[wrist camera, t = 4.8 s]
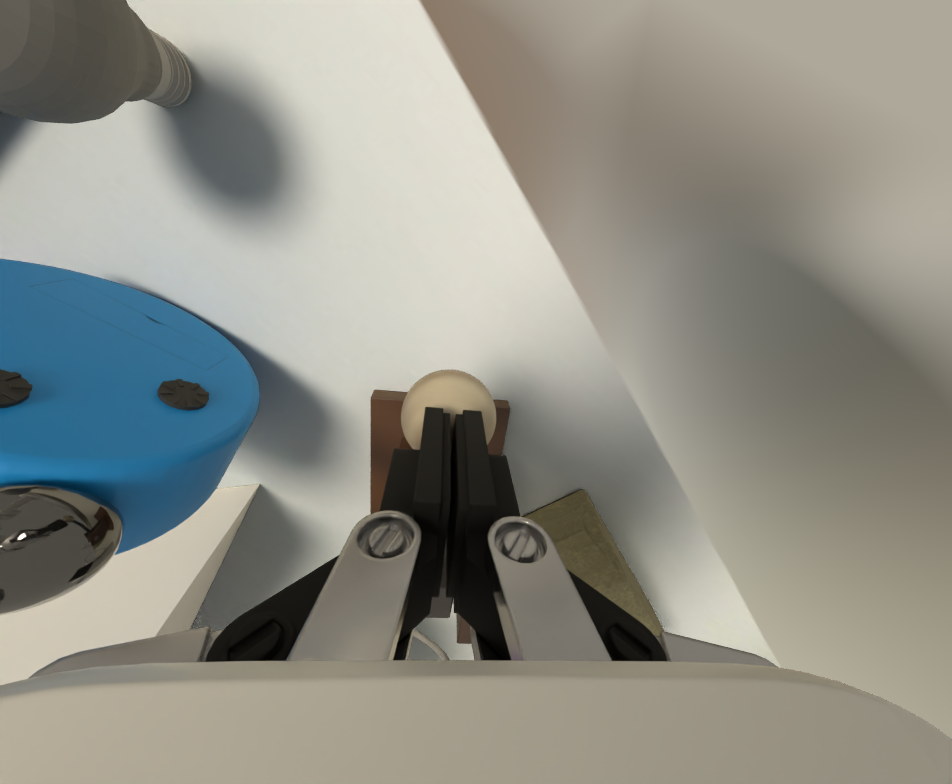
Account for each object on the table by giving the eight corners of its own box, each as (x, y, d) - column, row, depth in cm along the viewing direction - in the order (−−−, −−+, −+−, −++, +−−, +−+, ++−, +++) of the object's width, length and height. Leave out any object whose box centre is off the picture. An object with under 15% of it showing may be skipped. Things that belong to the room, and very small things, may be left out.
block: (-148, 606, 30) (-504, 842, 19) (155, 394, 23) (-107, 560, 12) (63, 696, 37) (-102, 905, 26) (339, 552, 31) (277, 746, 20)
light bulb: (112, 141, 18) (-235, 70, 9) (69, -32, 15) (-486, -388, 6) (245, 162, 18) (51, 115, 9) (226, -1, 16) (-67, -279, 7)
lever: (407, 348, 13) (395, 402, 10) (498, 357, 13) (509, 411, 10) (400, 562, 20) (392, 626, 17) (459, 564, 20) (460, 627, 18)
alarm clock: (39, 329, 21) (-668, 533, 8) (63, 234, 19) (-834, 290, 6) (263, 435, 25) (51, 691, 12) (302, 366, 23) (99, 580, 10)
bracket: (373, 389, 24) (315, 527, 14) (508, 400, 25) (550, 536, 15) (373, 504, 29) (328, 677, 18) (487, 510, 30) (509, 676, 19)
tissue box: (652, 608, 37) (780, 858, 23) (564, 643, 38) (631, 895, 24) (581, 484, 29) (707, 746, 15) (474, 534, 31) (496, 812, 17)
